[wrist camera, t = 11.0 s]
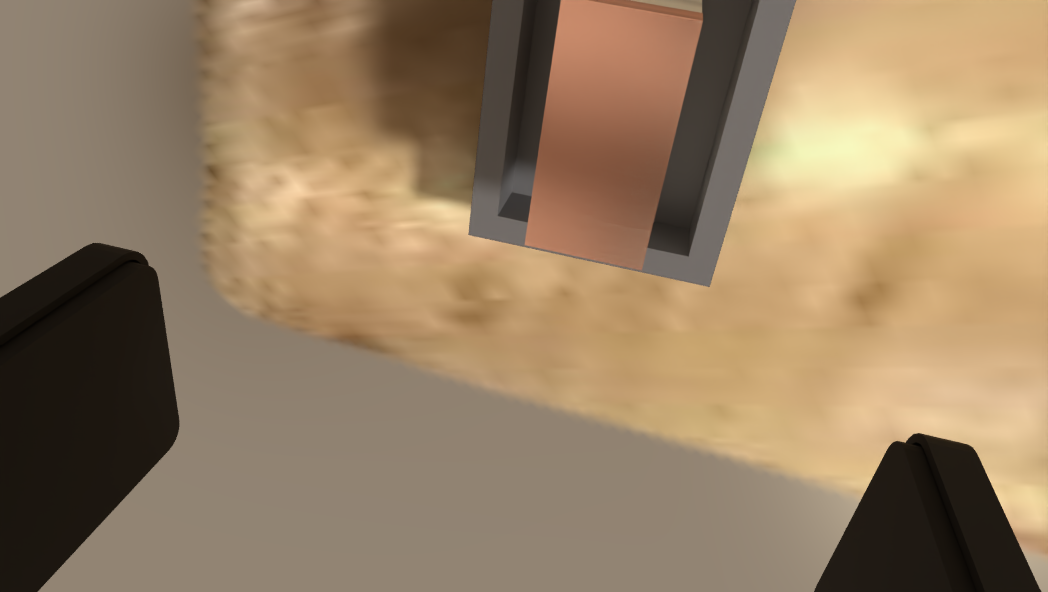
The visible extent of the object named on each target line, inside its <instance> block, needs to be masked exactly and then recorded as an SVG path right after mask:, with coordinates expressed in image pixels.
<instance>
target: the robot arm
mask: <svg viewBox="0 0 1048 592" xmlns="http://www.w3.org/2000/svg"><path fill="white" fill-rule="evenodd" d="M178 430H179V415H178V409H177V402H176V396H175V389H174V382H173V376H172V369H171V362H170V355H169V348H168V342H167V336H166V328H165V322H164V316H163V308H162V301H161V295H160V288H159V281H158V276H157V273H156V271H155V270H154V269H153V268H152V267H150V266H149V265H148V261H147V260H146V258H145V257H144V256H143V255H142V254H141V253H139V252H136V251H132V250H128V249H123V248H119V247H114V246H110V245H106V244H101V243H92V244H90V245H87V246H85V247H83V248H82V249H80V250H79V251H77V252H75V253H74V254H72V255H70V256H69V257H67V258H65V259H64V260H62V261H60V262H59V263H57V264H55V265H54V266H52V267H50V268H49V269H47V270H46V271H44V272H42V273H41V274H39V275H37V276H35V277H34V278H32V279H31V280H29V281H27V282H26V283H24V284H22V285H21V286H19V287H17V288H16V289H14V290H12V291H11V292H9V293H7V294H6V295H4V296H2V297H1V298H0V592H38V591H39V589H40V588H41V587H42V586H43V585H44V584H45V583H46V582H47V581H48V580H49V579H50V578H51V577H52V575H53V574H54V573H55V572H56V571H57V570H58V569H59V568H60V567H61V566H62V565H63V564H64V563H65V561H66V560H67V559H68V558H69V557H70V556H71V555H72V554H73V553H74V552H75V551H76V550H77V549H78V547H79V546H80V545H81V544H82V543H83V542H84V541H85V540H86V539H87V537H89V536H90V535H91V533H92V532H93V531H94V530H95V529H96V528H97V527H98V526H99V525H100V524H101V523H102V522H103V521H104V520H105V518H106V517H107V516H108V515H109V514H110V513H111V512H112V511H113V510H114V509H115V508H116V507H117V506H118V504H119V503H120V502H121V501H122V500H123V499H124V498H125V497H126V496H127V495H128V494H129V493H130V492H131V490H132V489H133V488H134V487H135V486H136V485H137V484H138V483H139V482H140V481H141V480H142V479H143V477H144V476H145V475H146V474H147V473H148V472H149V471H150V470H151V469H152V468H153V467H154V465H155V464H157V462H158V461H159V460H160V459H161V458H162V457H163V456H164V455H165V454H166V453H167V452H168V451H169V449H170V448H171V447H172V445H173V444H174V442H175V440H176V437H177V435H178ZM814 592H1041V590H1040V589H1039V586H1038V584H1037V582H1036V580H1035V578H1034V576H1033V573H1032V571H1031V569H1030V567H1029V565H1028V563H1027V560H1026V558H1025V556H1024V554H1023V552H1022V550H1021V548H1020V545H1019V543H1018V541H1017V539H1016V537H1015V535H1014V532H1013V530H1012V528H1011V526H1010V524H1009V522H1008V519H1007V517H1006V515H1005V513H1004V511H1003V509H1002V506H1001V504H1000V502H999V500H998V498H997V496H996V494H995V491H994V489H993V487H992V485H991V483H990V481H989V478H988V476H987V474H986V472H985V470H984V468H983V465H982V463H981V461H980V459H979V457H978V455H977V453H976V451H975V450H974V449H973V447H971V446H969V445H967V444H963V443H959V442H955V441H950V440H946V439H942V438H938V437H933V436H929V435H925V434H920V433H917V434H913V435H912V436H911V437H910V438H909V439H908V440H907V441H906V443H904V442H900V441H896V442H893V443H892V444H891V445H890V446H889V448H888V449H887V451H886V453H885V455H884V457H883V459H882V461H881V463H880V465H879V467H878V468H877V470H876V472H875V474H874V476H873V478H872V480H871V482H870V484H869V486H868V488H867V490H866V492H865V493H864V495H863V497H862V499H861V501H860V503H859V505H858V507H857V509H856V511H855V513H854V515H853V517H852V519H851V521H850V522H849V524H848V527H847V528H846V530H845V532H844V534H843V536H842V538H841V540H840V542H839V544H838V545H837V548H836V549H835V551H834V553H833V555H832V557H831V559H830V561H829V563H828V565H827V567H826V569H825V570H824V572H823V574H822V576H821V578H820V580H819V582H818V584H817V586H816V588H815V591H814Z"/></svg>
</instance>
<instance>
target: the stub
mask: <svg viewBox="0 0 1048 592" xmlns="http://www.w3.org/2000/svg"><path fill="white" fill-rule="evenodd" d="M702 23H703V13H702V0H561V4H560V10H559V17H558V24H557V30H556V37H555V44H554V51H553V57H552V64H551V71H550V77H549V84H548V91H547V97H546V104H545V111H544V118H543V124H542V131H541V138H540V144H539V151H538V158H537V165H536V171H535V178H534V185H533V191H532V198H531V205H530V211H529V218H528V225H527V232H526V238H525V245H527V246H531V247H536V248H541V249H545V250H550V251H555V252H559V253H564V254H568V255H573V256H578V257H582V258H587V259H591V260H596V261H601V262H605V263H610V264H614V265H619V266H624V267H628V268H633V269H637V270H642V267H643V263H644V259H645V254H646V250H647V246H648V242H649V238H650V234H651V230H652V226H653V222H654V218H655V214H656V210H657V206H658V202H659V197H660V193H661V189H662V185H663V181H664V177H665V173H666V169H667V165H668V161H669V157H670V153H671V149H672V145H673V141H674V136H675V132H676V128H677V124H678V120H679V116H680V112H681V108H682V104H683V100H684V96H685V92H686V88H687V84H688V79H689V75H690V71H691V67H692V63H693V59H694V55H695V51H696V47H697V43H698V39H699V35H700V31H701V27H702Z"/></svg>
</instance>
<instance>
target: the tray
mask: <svg viewBox="0 0 1048 592" xmlns="http://www.w3.org/2000/svg"><path fill="white" fill-rule="evenodd" d="M795 2H796V0H702V13H703V23H702V27H701V31H700V35H699V39H698V43H697V47H696V51H695V55H694V59H693V63H692V67H691V71H690V75H689V79H688V84H687V88H686V92H685V96H684V100H683V104H682V108H681V112H680V116H679V120H678V124H677V128H676V132H675V136H674V141H673V145H672V149H671V153H670V157H669V161H668V165H667V169H666V173H665V177H664V181H663V185H662V189H661V193H660V197H659V202H658V206H657V210H656V214H655V218H654V222H653V226H652V230H651V234H650V238H649V242H648V246H647V250H646V254H645V259H644V263H643V267H642V270H637V269H633V268H628V267H624V266H619V265H614V264H610V263H605V262H601V261H596V260H591V259H587V258H582V257H578V256H573V255H568V254H564V253H559V252H555V251H550V250H545V249H541V248H536V247H531V246H527V245H525V238H526V232H527V225H528V218H529V211H530V205H531V198H532V191H533V185H534V178H535V171H536V165H537V158H538V151H539V144H540V138H541V131H542V124H543V118H544V111H545V104H546V97H547V91H548V84H549V77H550V71H551V64H552V57H553V51H554V44H555V37H556V30H557V24H558V17H559V10H560V4H561V0H493V1H492V10H491V20H490V30H489V40H488V49H487V59H486V69H485V78H484V88H483V98H482V108H481V117H480V127H479V137H478V147H477V156H476V166H475V176H474V186H473V195H472V205H471V215H470V225H469V234H468V235H471V236H476V237H481V238H485V239H490V240H495V241H499V242H504V243H508V244H513V245H518V246H522V247H527V248H532V249H536V250H541V251H546V252H550V253H555V254H559V255H564V256H569V257H573V258H578V259H583V260H587V261H592V262H596V263H601V264H606V265H610V266H615V267H620V268H624V269H629V270H633V271H638V272H643V273H647V274H652V275H657V276H661V277H666V278H671V279H675V280H680V281H684V282H689V283H694V284H698V285H703V286H708V287H710V283H711V280H712V277H713V274H714V270H715V267H716V264H717V260H718V257H719V254H720V250H721V247H722V244H723V240H724V237H725V234H726V231H727V227H728V224H729V221H730V217H731V214H732V211H733V207H734V204H735V201H736V197H737V194H738V191H739V188H740V184H741V181H742V178H743V174H744V171H745V168H746V164H747V161H748V158H749V154H750V151H751V148H752V144H753V141H754V138H755V135H756V131H757V128H758V125H759V121H760V118H761V115H762V111H763V108H764V105H765V101H766V98H767V95H768V92H769V88H770V85H771V82H772V78H773V75H774V72H775V68H776V65H777V62H778V58H779V55H780V52H781V49H782V45H783V42H784V39H785V35H786V32H787V29H788V25H789V22H790V19H791V15H792V12H793V9H794V6H795Z"/></svg>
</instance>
